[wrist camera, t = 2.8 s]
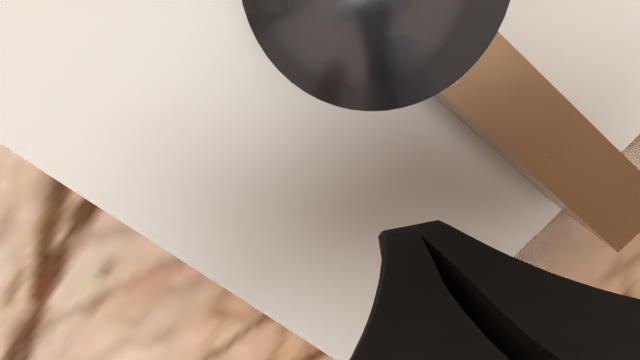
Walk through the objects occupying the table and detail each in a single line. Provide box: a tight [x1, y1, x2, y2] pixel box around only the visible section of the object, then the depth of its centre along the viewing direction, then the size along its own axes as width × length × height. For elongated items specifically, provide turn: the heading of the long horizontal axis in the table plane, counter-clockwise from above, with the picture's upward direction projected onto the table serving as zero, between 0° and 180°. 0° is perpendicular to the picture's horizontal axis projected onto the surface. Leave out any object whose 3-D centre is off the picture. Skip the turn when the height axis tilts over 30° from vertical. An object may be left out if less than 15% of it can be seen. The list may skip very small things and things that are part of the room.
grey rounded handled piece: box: [242, 0, 640, 252], centre depth 11 cm, size 11×5×4 cm, turn 50°
